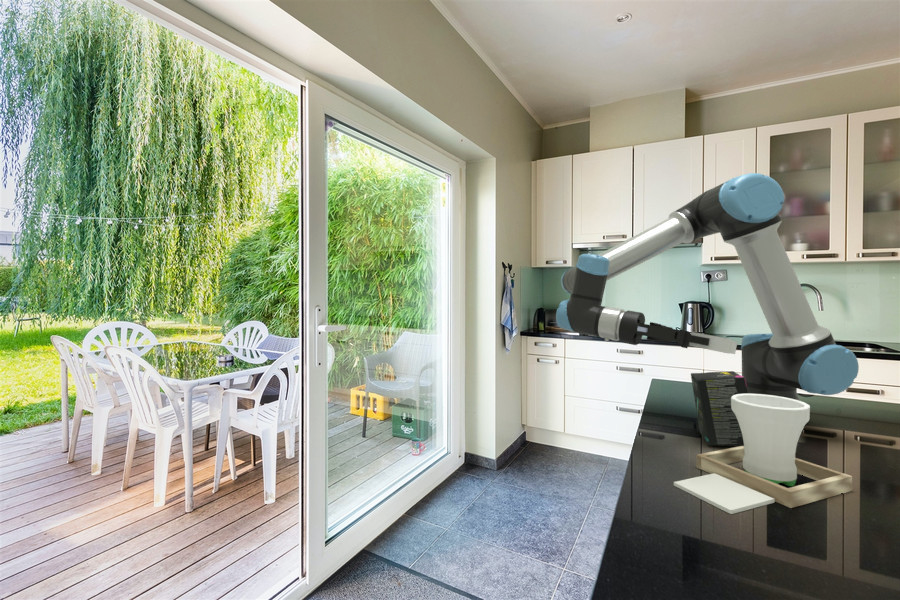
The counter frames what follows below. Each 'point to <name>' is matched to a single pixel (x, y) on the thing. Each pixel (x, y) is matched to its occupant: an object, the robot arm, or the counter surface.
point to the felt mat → (724, 493)
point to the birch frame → (791, 497)
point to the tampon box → (718, 406)
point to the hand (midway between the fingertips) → (733, 347)
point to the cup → (770, 434)
